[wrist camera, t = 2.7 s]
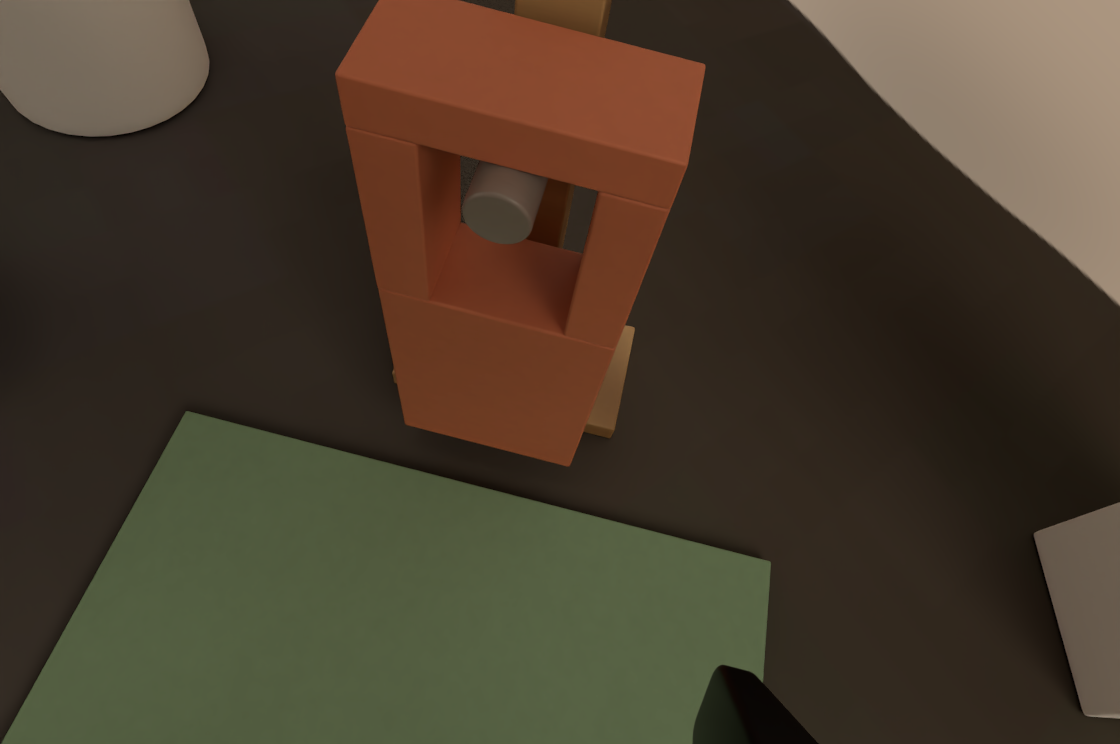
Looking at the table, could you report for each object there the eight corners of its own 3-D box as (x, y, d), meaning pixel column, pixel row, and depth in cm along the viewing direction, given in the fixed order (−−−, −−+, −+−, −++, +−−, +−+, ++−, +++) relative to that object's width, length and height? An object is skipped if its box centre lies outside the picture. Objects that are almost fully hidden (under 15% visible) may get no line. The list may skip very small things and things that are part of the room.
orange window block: (569, 467, 21) (688, 165, 10) (404, 425, 21) (333, 73, 10) (584, 401, 22) (706, 63, 11) (427, 361, 22) (388, -20, 11)
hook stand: (595, 513, 23) (799, 168, 9) (365, 454, 23) (207, 15, 9) (631, 338, 26) (818, -109, 12) (431, 286, 26) (393, -219, 12)
